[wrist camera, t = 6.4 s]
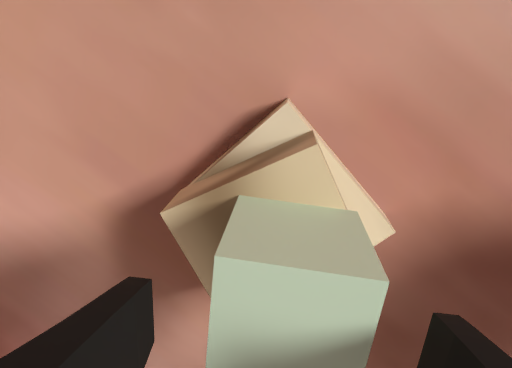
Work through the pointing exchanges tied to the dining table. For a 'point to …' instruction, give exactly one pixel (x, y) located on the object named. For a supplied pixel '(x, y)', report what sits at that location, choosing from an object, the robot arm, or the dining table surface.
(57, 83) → the dining table surface
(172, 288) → the dining table surface
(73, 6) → the dining table surface
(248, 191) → the beech slab top
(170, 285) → the dining table surface
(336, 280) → the sage cube
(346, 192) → the beech slab bottom
